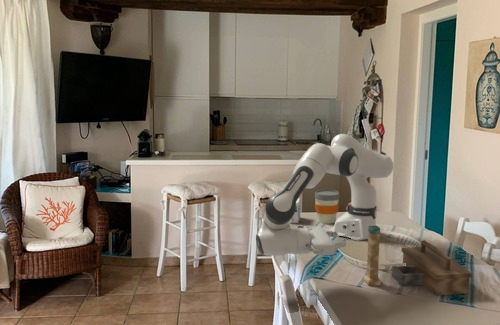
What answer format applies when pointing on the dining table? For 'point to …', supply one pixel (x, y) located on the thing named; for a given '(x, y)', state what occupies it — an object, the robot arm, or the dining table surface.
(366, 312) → the dining table surface
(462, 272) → the toolbox
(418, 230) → the dining table surface
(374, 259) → the wooden key
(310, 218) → the dining table surface
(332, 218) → the reusable coffee cup
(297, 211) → the light bulb box
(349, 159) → the robot arm
